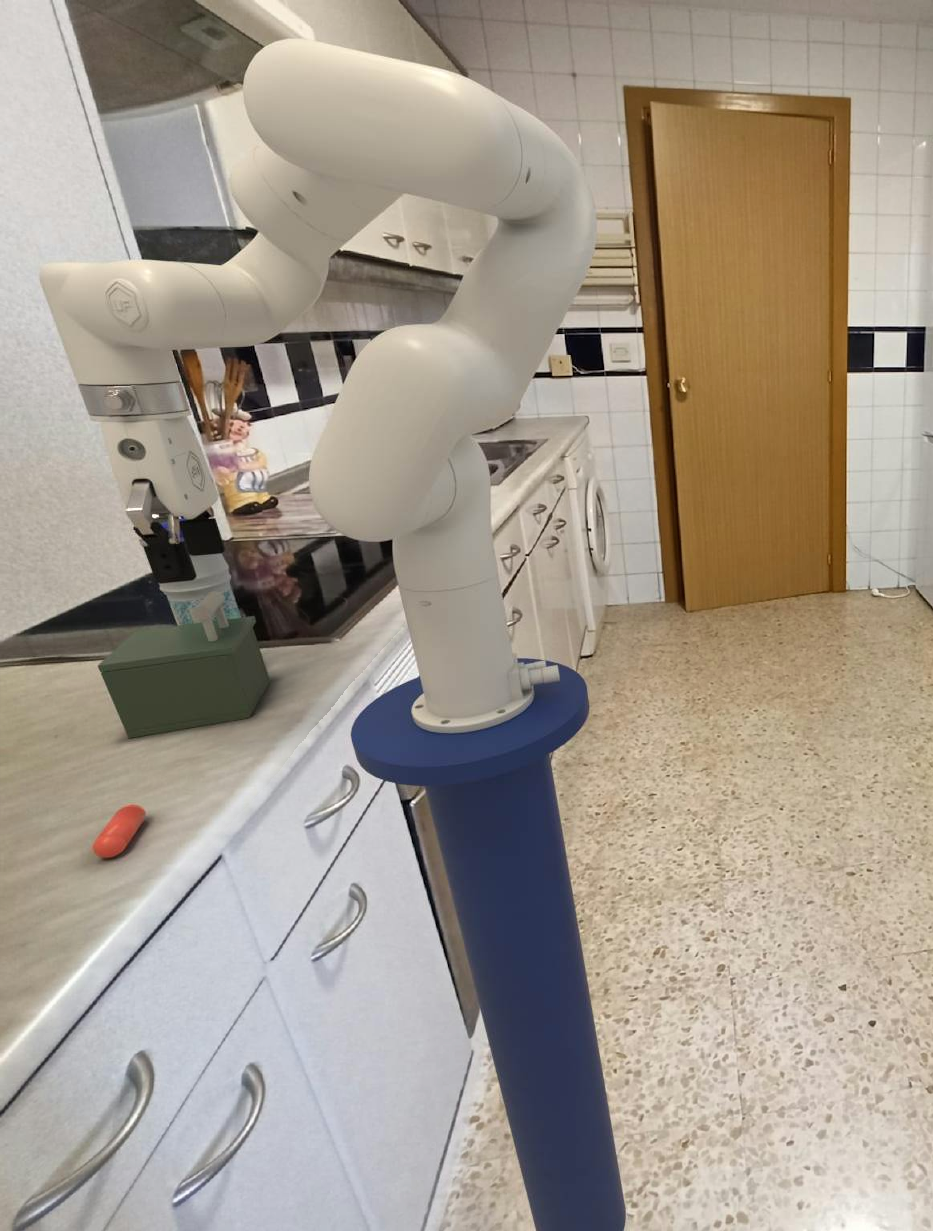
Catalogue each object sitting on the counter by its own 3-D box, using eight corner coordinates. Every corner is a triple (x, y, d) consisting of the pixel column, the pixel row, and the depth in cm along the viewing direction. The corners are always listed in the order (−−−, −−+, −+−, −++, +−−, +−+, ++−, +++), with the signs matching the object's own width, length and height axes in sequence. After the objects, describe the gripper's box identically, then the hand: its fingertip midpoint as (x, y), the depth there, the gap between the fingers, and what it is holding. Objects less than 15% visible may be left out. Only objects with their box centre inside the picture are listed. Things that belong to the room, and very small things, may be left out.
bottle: (212, 666, 91) (157, 513, 84) (271, 660, 93) (223, 510, 85) (182, 690, 85) (120, 528, 78) (246, 684, 87) (192, 525, 79)
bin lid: (256, 621, 85) (243, 582, 83) (233, 653, 77) (218, 610, 75) (137, 637, 81) (121, 595, 79) (99, 672, 73) (80, 627, 71)
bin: (270, 681, 88) (251, 622, 85) (249, 718, 80) (227, 655, 77) (162, 698, 84) (138, 637, 81) (128, 738, 76) (100, 673, 73)
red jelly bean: (124, 822, 63) (115, 803, 62) (152, 816, 64) (144, 797, 63) (93, 866, 58) (83, 846, 57) (124, 859, 59) (115, 839, 58)
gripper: (152, 410, 64) (211, 588, 71) (212, 393, 79) (257, 541, 86) (41, 413, 62) (114, 598, 68) (125, 394, 76) (178, 548, 83)
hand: (193, 566), depth 77 cm, fingers open, 9 cm apart
